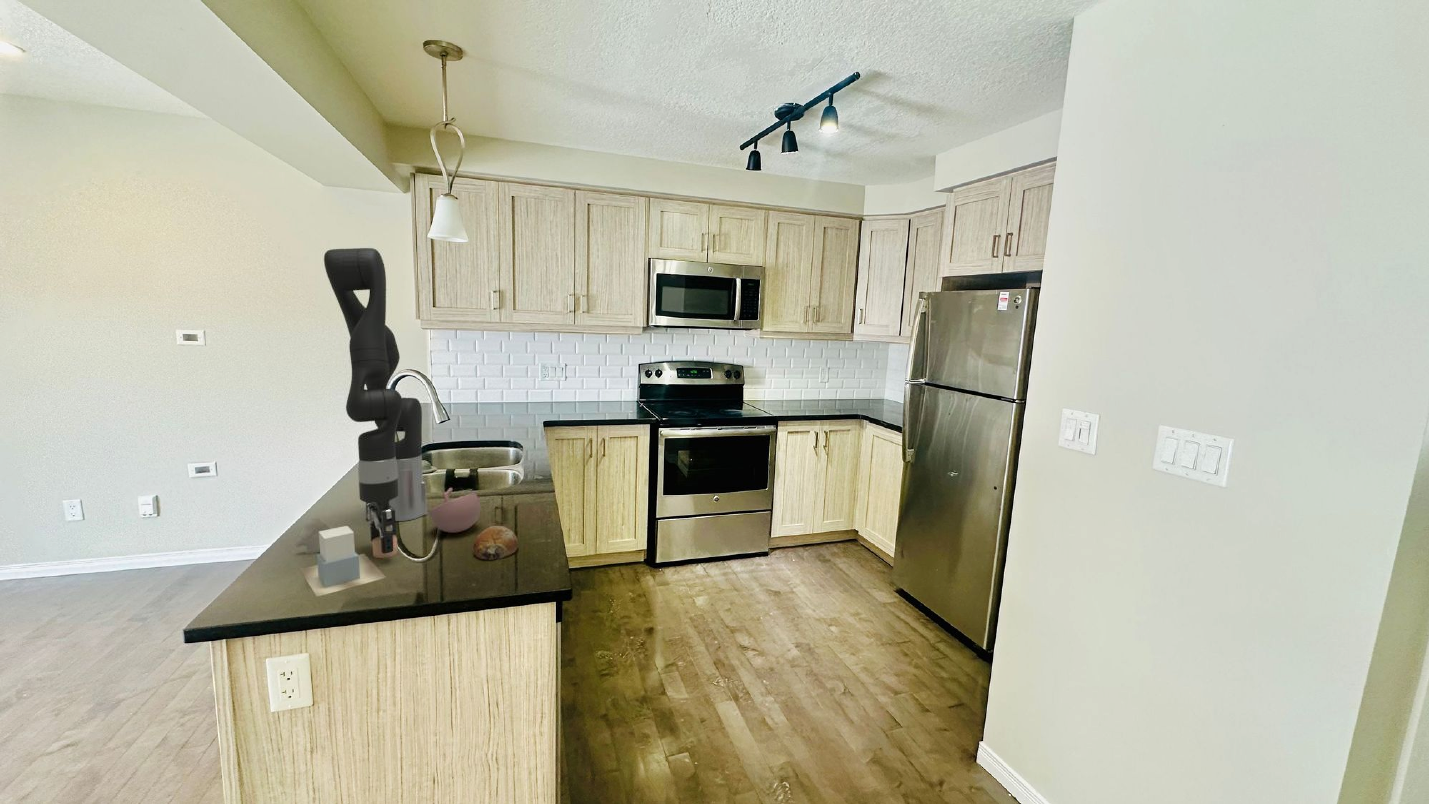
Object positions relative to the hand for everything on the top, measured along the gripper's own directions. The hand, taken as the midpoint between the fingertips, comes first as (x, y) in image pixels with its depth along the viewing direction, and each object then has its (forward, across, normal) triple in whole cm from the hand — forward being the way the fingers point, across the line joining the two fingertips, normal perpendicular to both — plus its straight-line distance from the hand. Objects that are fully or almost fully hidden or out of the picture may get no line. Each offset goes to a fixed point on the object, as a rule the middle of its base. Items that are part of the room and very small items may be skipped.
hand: (381, 546), depth 126 cm
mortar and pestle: (+3, +8, -19) cm, 21 cm away
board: (+4, -5, +9) cm, 11 cm away
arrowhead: (+4, +11, +10) cm, 16 cm away
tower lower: (+2, -7, +10) cm, 12 cm away
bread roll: (+4, -12, -21) cm, 24 cm away
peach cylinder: (+3, 0, -1) cm, 3 cm away
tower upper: (-3, -7, +10) cm, 12 cm away
